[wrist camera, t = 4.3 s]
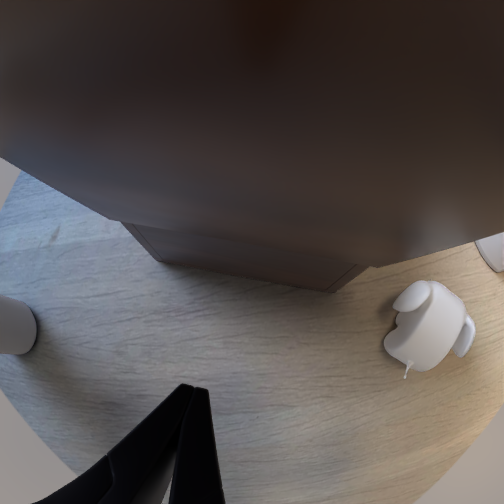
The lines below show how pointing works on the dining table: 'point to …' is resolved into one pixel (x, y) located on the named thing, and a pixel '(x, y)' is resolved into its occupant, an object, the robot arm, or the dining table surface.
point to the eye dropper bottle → (493, 251)
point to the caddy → (245, 259)
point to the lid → (266, 118)
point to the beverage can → (16, 327)
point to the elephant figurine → (429, 326)
